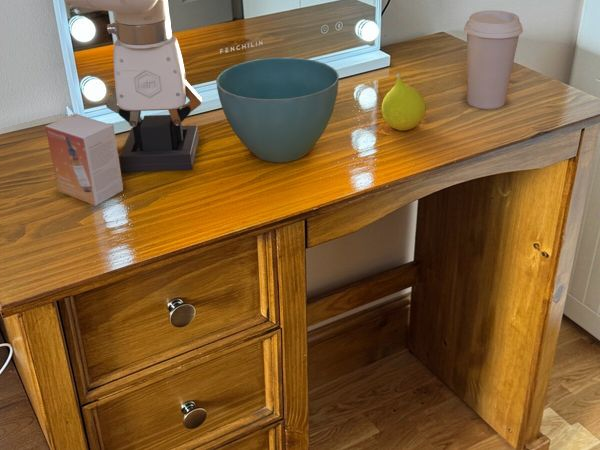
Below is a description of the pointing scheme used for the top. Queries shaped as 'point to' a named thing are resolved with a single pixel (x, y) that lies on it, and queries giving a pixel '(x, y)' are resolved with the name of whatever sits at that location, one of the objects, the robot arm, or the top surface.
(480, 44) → the coffee cup
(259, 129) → the teal bowl
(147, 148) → the black cube
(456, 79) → the top surface
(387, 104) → the ornament
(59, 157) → the small box
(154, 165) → the small dark tray
